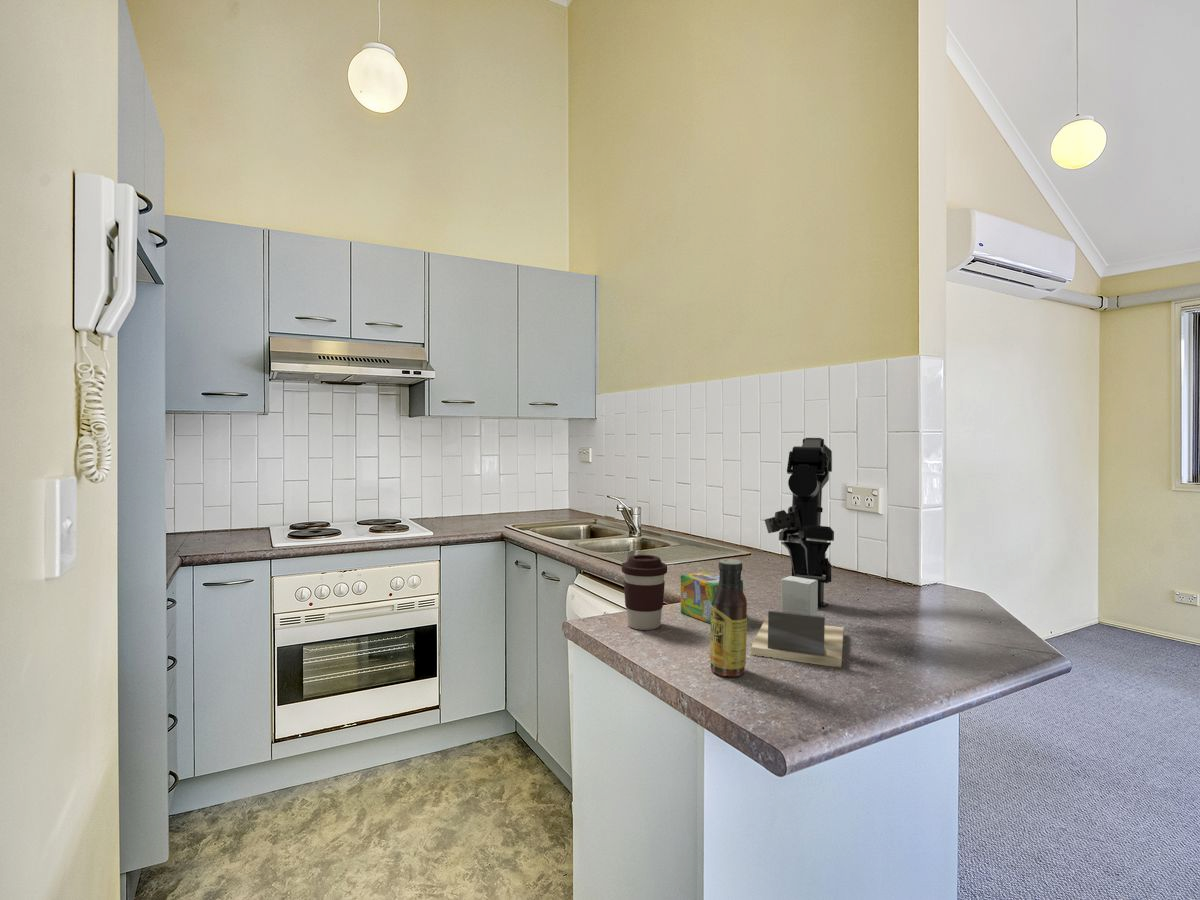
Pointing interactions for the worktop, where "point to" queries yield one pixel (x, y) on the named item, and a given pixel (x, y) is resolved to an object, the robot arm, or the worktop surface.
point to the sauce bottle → (728, 622)
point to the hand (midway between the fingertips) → (803, 574)
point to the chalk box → (699, 594)
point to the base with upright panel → (799, 639)
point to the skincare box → (799, 595)
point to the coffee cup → (644, 591)
